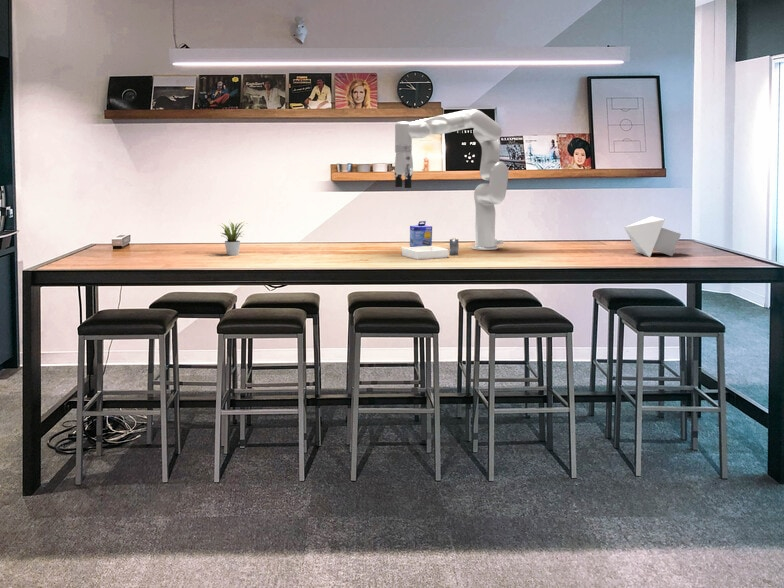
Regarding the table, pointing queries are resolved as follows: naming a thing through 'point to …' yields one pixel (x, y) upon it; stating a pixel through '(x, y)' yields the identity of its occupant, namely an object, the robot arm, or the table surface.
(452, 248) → the battery cell
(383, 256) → the table surface
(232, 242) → the house plant
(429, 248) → the flat white box
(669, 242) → the pyramid on cube
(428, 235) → the ink cartridge box
